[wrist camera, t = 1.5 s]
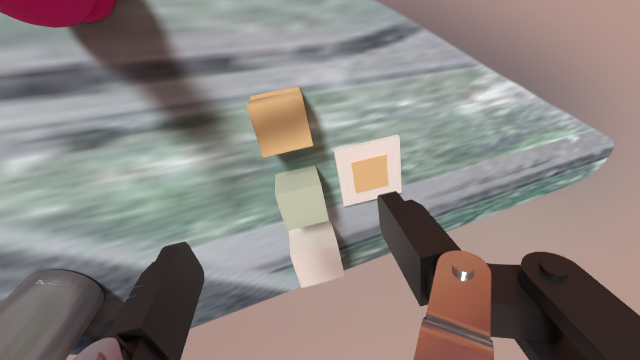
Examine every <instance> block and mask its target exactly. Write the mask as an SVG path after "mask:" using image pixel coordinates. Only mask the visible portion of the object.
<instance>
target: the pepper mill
mask: <svg viewBox="0 0 640 360" xmlns="http://www.w3.org/2000/svg"><path fill="white" fill-rule="evenodd" d="M115 2H116V0H0V12H1V13H3V14H6V15H8V16H10V17H13V18H15V19H18V20H20V21H22V22H26V23H30V24H34V25H40V26H46V27H54V28H55V27H67V26H71V25H74V24H77V23H79V22H85V23H91V22H96V21H100V20H102V19H104V18H105V17H107V16H108V15H109V14H110V12H111V11H112V9H113V7H114V4H115Z"/></svg>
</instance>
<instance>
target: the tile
mask: <svg viewBox="0 0 640 360" xmlns="http://www.w3.org/2000/svg"><path fill="white" fill-rule="evenodd" d="M333 153H334V158H335V164H336V170H337V175H338V181H339V186H340V192H341V197H342V203H343V206H344V207H345V206H349V205H353V204H357V203H361V202H365V201H369V200H373V199H377V197H378V195H381V194H385V193H389V192H393V191H397V192H398V193H402V188H401V163H400V138H399V136H398V135H394V136H389V137H385V138H381V139H377V140H373V141H368V142H364V143H360V144H356V145H351V146H347V147H343V148H339V149H335V150H333Z"/></svg>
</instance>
